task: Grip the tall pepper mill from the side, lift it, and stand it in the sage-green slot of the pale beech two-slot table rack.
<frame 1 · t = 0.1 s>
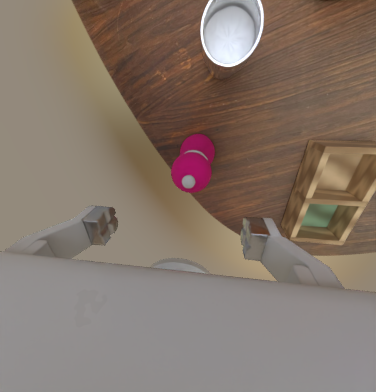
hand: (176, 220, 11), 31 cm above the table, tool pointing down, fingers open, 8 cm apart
rack: (319, 189, 40), on the table
beer glass: (223, 59, 31), on the table
pepper mill: (198, 147, 39), on the table
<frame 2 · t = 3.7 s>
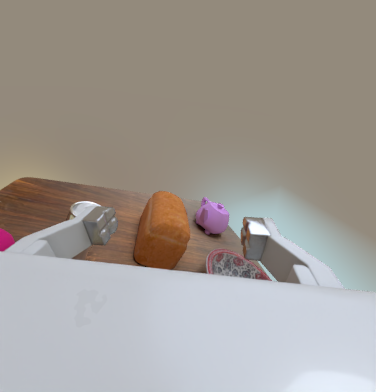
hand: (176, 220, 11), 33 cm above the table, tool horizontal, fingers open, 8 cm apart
teapot: (202, 225, 89), on the table
beer glass: (71, 262, 39), on the table
ceramic bowl: (233, 301, 53), on the table
bread: (154, 240, 61), on the table
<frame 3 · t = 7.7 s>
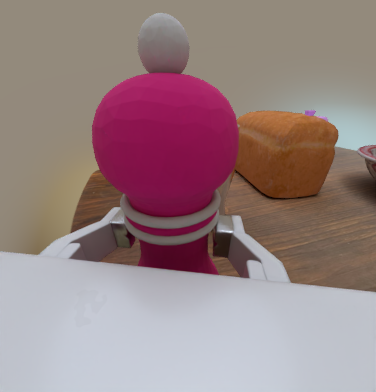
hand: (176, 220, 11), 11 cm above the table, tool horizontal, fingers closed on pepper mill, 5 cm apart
beer glass: (207, 219, 29), on the table
pepper mill: (178, 325, 15), on the table, touching gripper
bread: (262, 175, 46), on the table
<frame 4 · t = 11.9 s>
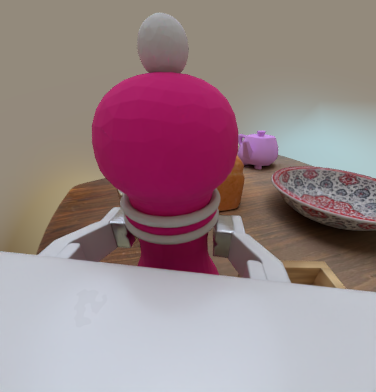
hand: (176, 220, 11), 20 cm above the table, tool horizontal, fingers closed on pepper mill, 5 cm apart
rack: (317, 388, 18), on the table
teapot: (249, 164, 80), on the table
pepper mill: (178, 325, 15), point 9 cm above the table, touching gripper
ceramic bowl: (323, 213, 45), on the table
bread: (207, 190, 57), on the table
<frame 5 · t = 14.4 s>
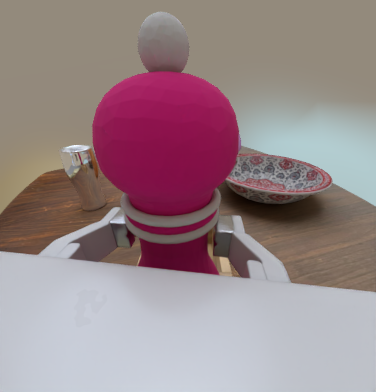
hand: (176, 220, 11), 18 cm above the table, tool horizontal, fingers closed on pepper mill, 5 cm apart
rack: (183, 303, 23), on the table
beer glass: (94, 205, 45), on the table
pepper mill: (178, 325, 15), point 7 cm above the table, touching gripper
ceramic bowl: (260, 193, 51), on the table
when the fingers open (12 cm above the table, at t = 16.3 s): pepper mill stays where it is, resting on rack.
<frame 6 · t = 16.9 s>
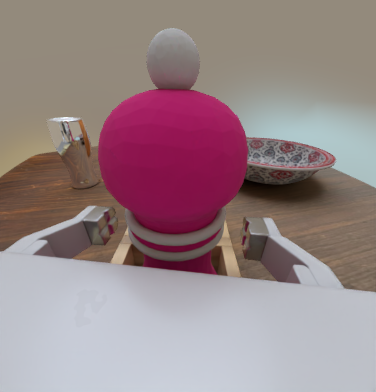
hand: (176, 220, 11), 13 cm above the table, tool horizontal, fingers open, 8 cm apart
rack: (177, 275, 21), on the table
beer glass: (86, 184, 43), on the table
pepper mill: (178, 329, 15), point 1 cm above the table, touching rack
ceramic bowl: (260, 177, 49), on the table
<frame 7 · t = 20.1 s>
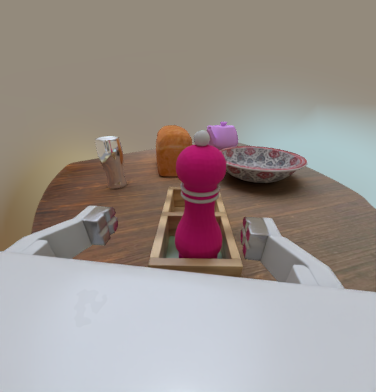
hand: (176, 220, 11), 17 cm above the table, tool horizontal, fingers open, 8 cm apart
rack: (193, 238, 34), on the table
teapot: (216, 150, 97), on the table
beer glass: (117, 185, 56), on the table
pepper mill: (197, 259, 28), point 1 cm above the table, touching rack
ceramic bowl: (253, 177, 62), on the table
bread: (174, 166, 73), on the table
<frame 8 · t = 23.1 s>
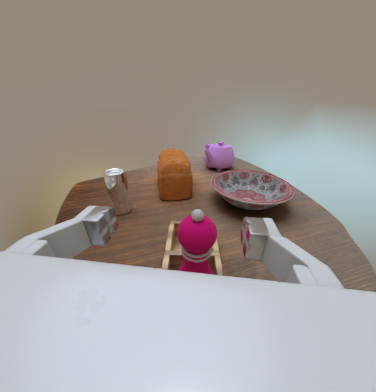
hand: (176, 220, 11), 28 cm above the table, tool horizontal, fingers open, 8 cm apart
rack: (191, 271, 39), on the table
teapot: (214, 167, 102), on the table
beer glass: (123, 210, 62), on the table
pepper mill: (194, 294, 34), point 1 cm above the table, touching rack
ceramic bowl: (246, 201, 67), on the table
bread: (174, 187, 79), on the table
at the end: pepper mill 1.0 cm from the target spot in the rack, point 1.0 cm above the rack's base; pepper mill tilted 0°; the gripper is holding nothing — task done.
